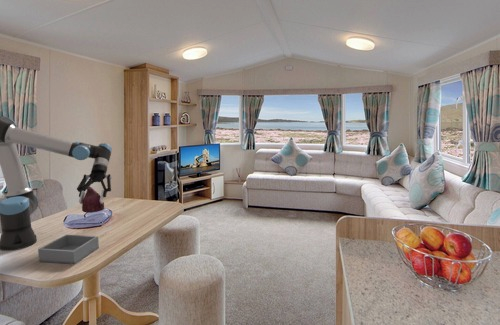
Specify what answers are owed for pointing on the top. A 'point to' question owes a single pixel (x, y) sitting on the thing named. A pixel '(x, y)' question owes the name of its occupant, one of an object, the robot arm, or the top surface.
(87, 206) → the vegetable
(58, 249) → the slate bin
